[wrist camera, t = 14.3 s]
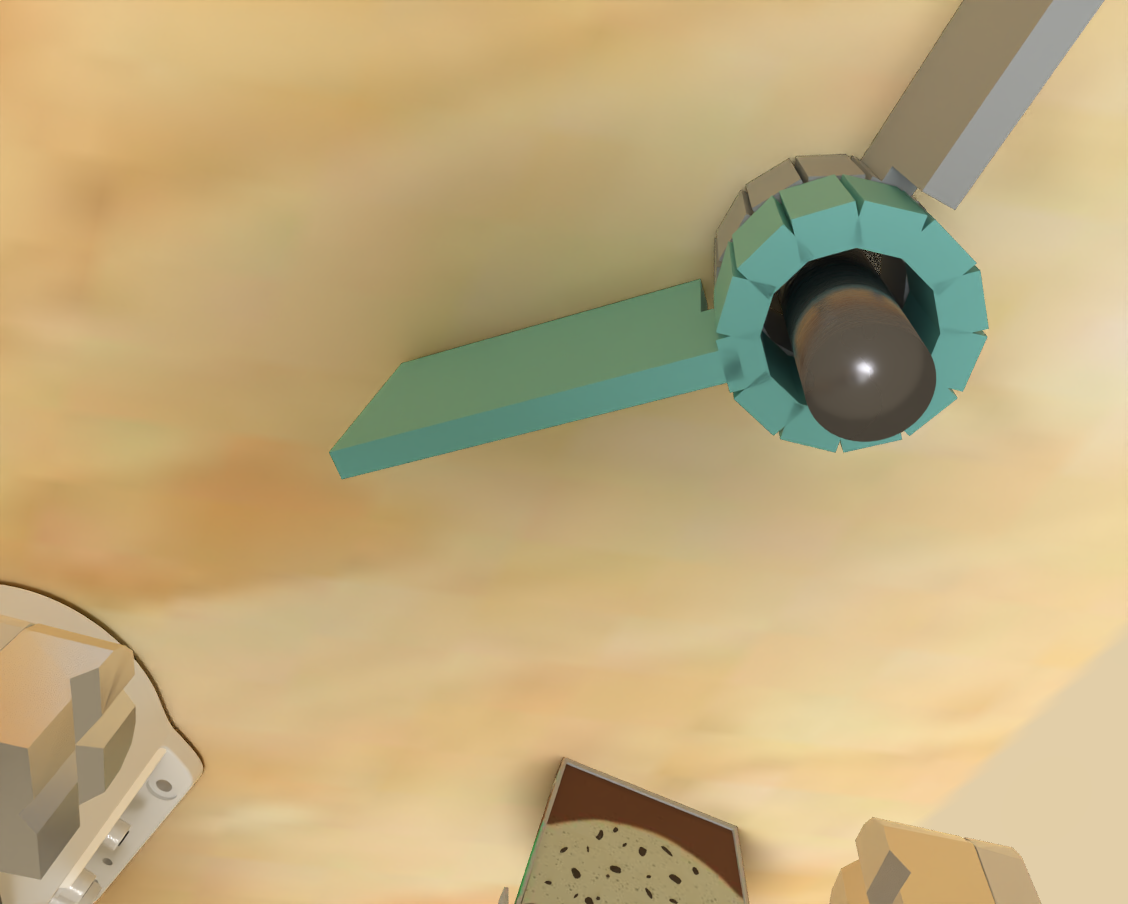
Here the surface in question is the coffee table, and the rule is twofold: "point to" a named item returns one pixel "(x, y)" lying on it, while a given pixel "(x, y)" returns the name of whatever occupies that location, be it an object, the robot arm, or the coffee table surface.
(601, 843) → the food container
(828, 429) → the hinge pin
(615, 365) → the teal hinge knuckle plate
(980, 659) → the coffee table surface
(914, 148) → the frame leaf
